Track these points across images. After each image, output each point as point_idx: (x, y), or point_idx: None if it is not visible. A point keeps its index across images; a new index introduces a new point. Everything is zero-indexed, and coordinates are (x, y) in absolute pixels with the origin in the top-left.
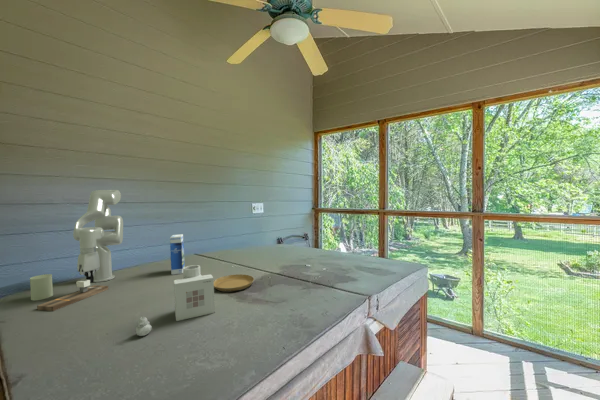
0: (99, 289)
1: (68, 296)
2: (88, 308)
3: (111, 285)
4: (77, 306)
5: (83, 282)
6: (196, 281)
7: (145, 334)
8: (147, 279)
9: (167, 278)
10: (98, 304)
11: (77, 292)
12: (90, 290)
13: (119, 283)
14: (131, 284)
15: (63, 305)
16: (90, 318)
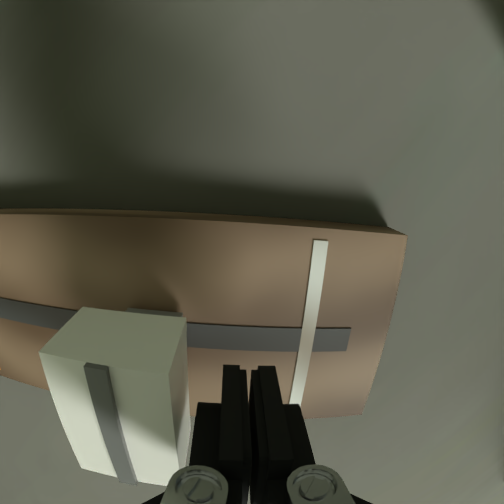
0: None
1: (26, 281)
2: (44, 474)
3: (452, 327)
4: (24, 421)
5: (83, 459)
6: None
7: None
8: (494, 437)
9: (466, 492)
10: (89, 491)
11: (127, 268)
12: (213, 366)
13: (483, 346)
14: (432, 443)
15: None
16: (21, 501)
